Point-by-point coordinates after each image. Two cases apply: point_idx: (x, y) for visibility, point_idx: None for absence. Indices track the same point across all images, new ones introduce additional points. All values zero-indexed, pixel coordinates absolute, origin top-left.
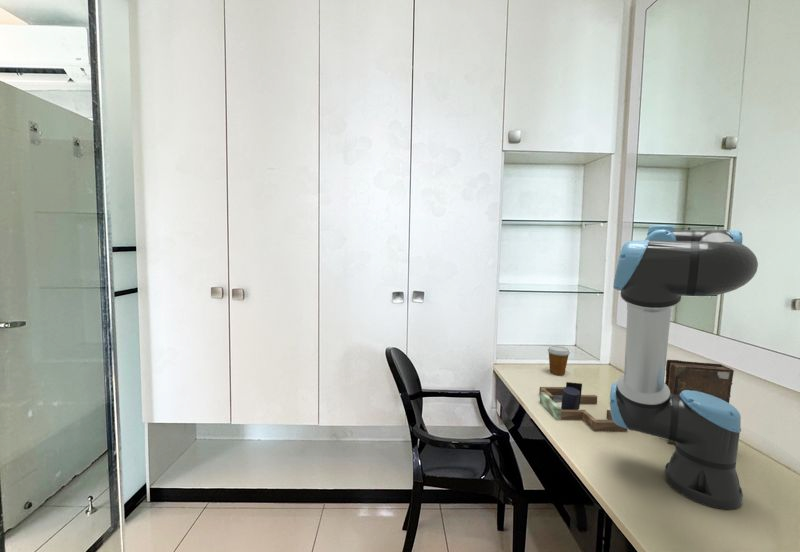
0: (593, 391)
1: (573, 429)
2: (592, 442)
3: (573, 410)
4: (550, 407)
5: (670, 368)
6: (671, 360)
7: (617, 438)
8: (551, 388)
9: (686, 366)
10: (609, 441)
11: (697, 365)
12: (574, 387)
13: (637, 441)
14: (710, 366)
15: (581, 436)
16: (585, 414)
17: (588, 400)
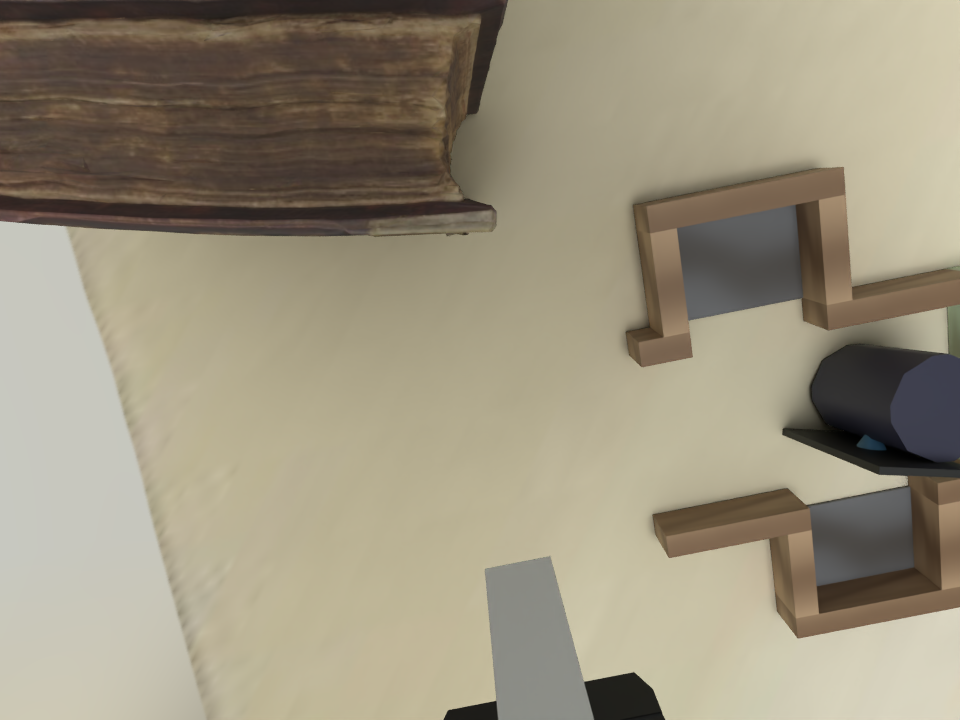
0: None
1: (922, 167)
2: (883, 35)
3: (901, 305)
4: None
5: (460, 192)
6: (450, 209)
7: (725, 110)
8: (900, 598)
9: (334, 96)
10: (785, 66)
11: (166, 188)
12: (905, 461)
13: (631, 97)
14: (22, 181)
15: (913, 93)
16: (849, 269)
17: (710, 515)
